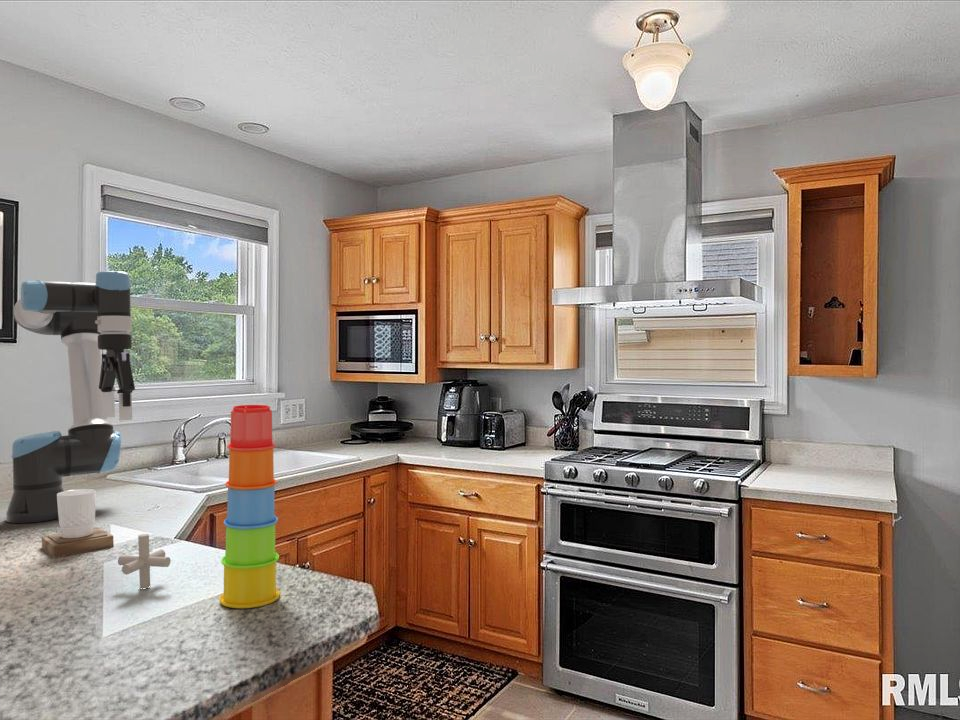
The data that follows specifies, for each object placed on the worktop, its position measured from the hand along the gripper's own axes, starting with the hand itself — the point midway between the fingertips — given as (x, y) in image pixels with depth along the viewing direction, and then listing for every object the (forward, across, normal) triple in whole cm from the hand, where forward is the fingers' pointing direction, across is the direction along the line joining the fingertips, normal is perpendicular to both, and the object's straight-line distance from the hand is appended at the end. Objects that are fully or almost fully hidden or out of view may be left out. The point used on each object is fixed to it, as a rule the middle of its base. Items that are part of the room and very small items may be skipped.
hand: (117, 418), depth 175 cm
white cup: (+26, +6, -11) cm, 29 cm away
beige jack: (+29, +49, -10) cm, 58 cm away
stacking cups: (+29, +70, +1) cm, 76 cm away
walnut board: (+29, +6, -11) cm, 31 cm away
